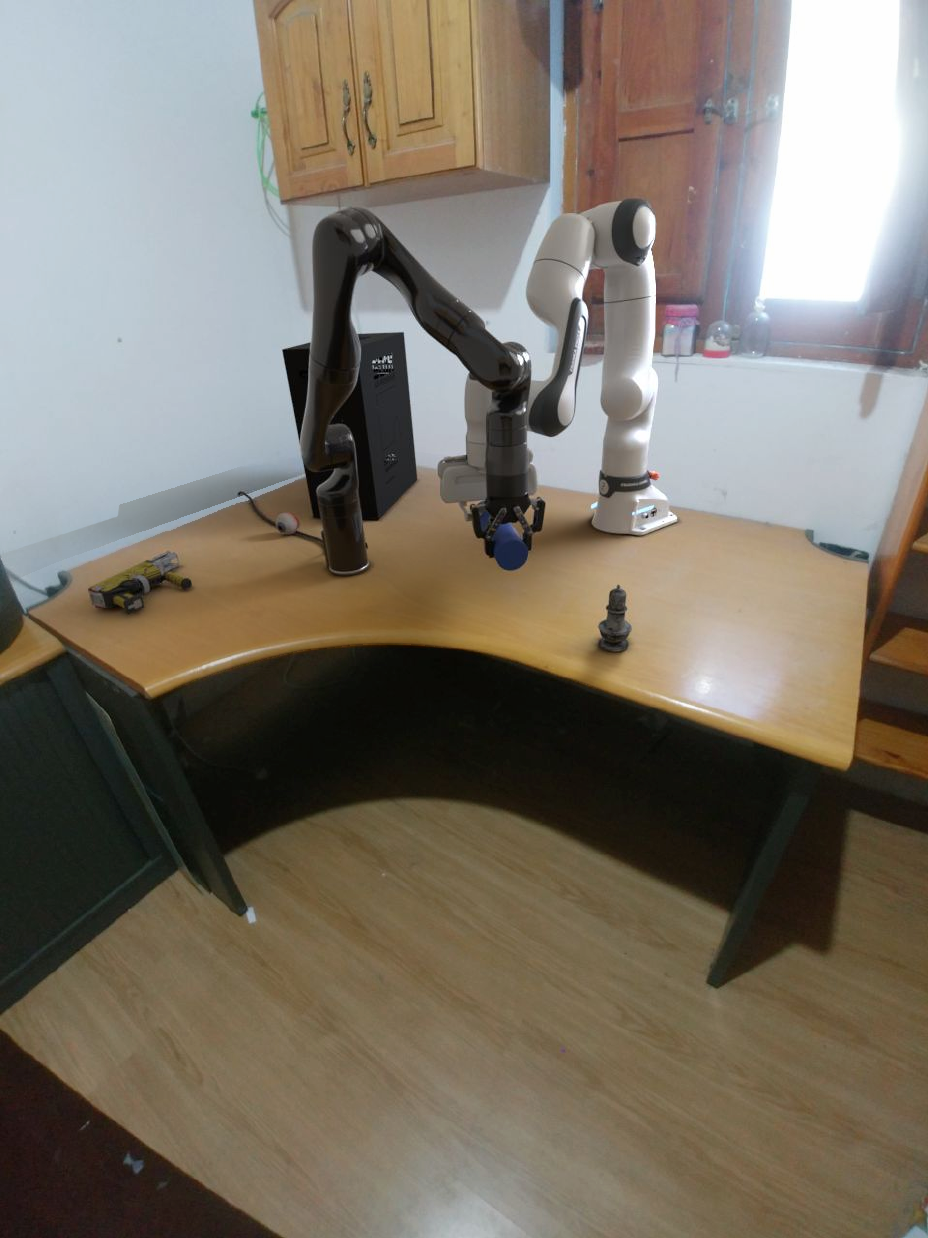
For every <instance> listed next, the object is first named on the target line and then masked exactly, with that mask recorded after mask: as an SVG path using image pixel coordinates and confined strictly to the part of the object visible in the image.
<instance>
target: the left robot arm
mask: <svg viewBox="0 0 928 1238" xmlns="http://www.w3.org/2000/svg"><path fill="white" fill-rule="evenodd" d="M311 240H312V241H311V265H312V269H311V270H312V315H311V316H312V318H311V319H312V321H311V336H310V337H311V338H310V342H311V344H310V357H309V379H308V393H307V402H306V409H305V414H304V419H303V425H302V430H301V437H300V443H299V448H300V450H299V451H300V457H301V460H302V463H303V462H304V465H305V466H306V467H307V469H309V470H310V471H312V472H324V471H329V470H333V469H334V472H333V474H332V475H331V476H330V477H329V478H328V479H327V480H326V481H325V482H323V483H322V484H321V485H319V486H318V488H317V490H316V494H317V500H318V505H319V510H320V516H321V518H320V521H321V526H322V530H321V531H320V536H321V538H320V537H317V536H315V535H311V534H308V533H304V532H302V531H299V530H297V531H296V532H294V533H293V534H297V535H300V536H302V537H306V538H309V539H311V540H316V541H317V542H319V543H321V544H322V548H323V552H324V557H325V558H324V559H325V563H326V568H327V569H329V572H330V573H331V574H333V575H335V576H341V577H343V576H345V577H346V576H353V575H357V574H361V573H363V572H365V571H366V570H368V569H369V567H370V560H369V558H368V549H369V547H368V543H367V541H366V535H365V529H364V521H363V519H362V514H361V507H360V500H359V493H358V487H359V480H358V470H357V458H356V448H355V443H354V439H353V435H352V433H351V431H350V429H349V428H348V427H347V426H346V425H345V424H343V423H335V424H330V422H331V420H332V418H333V417H334V415H335V414H336V413H337V411H338V410H339V409H340V408H341V406H342V405H343V404H344V403H345V401H346V400H347V399H348V397H349V396H350V394H351V393H352V391H353V390H354V388H355V386H356V383H357V379H358V374H359V367H360V360H361V345H360V341H359V338H358V335H357V334H358V332H357V330H356V327H355V325H354V323H353V319H352V308H353V307H352V306H353V300H354V293H355V288H356V284H357V281H358V279H359V278H360V277H363V276H364V275H366V274H368V273H369V272H373V273H375V274H376V275H378V276H380V277H382V278H383V279H384V280H386V281H387V282H389V283H390V284H391V285H392V286H393V287H394V288H395V289H396V290H397V291H398V292H399V294H400V295H401V297H403V299H404V301H405V302H406V304H407V306H408V308H409V310H410V312H411V313H412V316H413V317H414V319H415V320H416V321H417V324H419V326H420V328H422V329H423V330H424V331H425V333H427V334H428V335H429V336H430V337H431V338H432V339H434V340H435V341H436V342H438V344H440V345H441V346H442V347H443V348H445V349H446V350H447V351H449V352H450V353H451V354H452V355H454V356H455V357H456V358H457V359H458V360H459V361H460V363H461V364H462V365H463V367H464V368H465V369H466V370H467V371H468V373H469V372H470V373H471V374H472V375H473V376H474V378H475V379H476V380H477V381H478V382H480V383H481V384H482V385H483V386H484V387H486V388H488V389H489V390H491V391H492V400H491V405H490V407H489V409H488V411H487V414H486V454H485V468H486V492H487V497H486V500H485V502H484V504H479V505H477V504H475V503H471V504H470V505H469V511H470V513H471V519H472V521H471V524H472V530H473V534H474V535H475V537H476V539H479V540H480V539H483V551H484V553H485V555H486V556H487V557H488V558H489V559H494V556H493V540H492V537H493V535H494V533H495V531H497V529H498V527H499V525H500V524H506V523H511V524H517V523H519V525H520V527H521V528H522V530H523V532H522V533H521V535H522V537H521V539H522V541H523V542H524V544H525V545H526V547H527V549H528V555H529V553H530V552H532V549H533V535H534V534H536V533H540V532H543V531H542V530H543V526H544V521H545V520H544V519H545V513H546V504H547V503H546V501H545V500H544V499H543V498H542V497H541V496H537V497H536V498H530V496H529V495H528V448H529V447H528V431H527V406H528V400H529V393H530V385H531V380H532V370H533V369H532V360H531V356H530V354H529V352H528V349H526V347H525V346H523V345H522V344H521V343H519V342H516V341H506V342H503V343H502V341H499V340H498V339H497V337H496V336H494V335H493V334H492V333H491V332H490V331H488V329H487V328H486V324H485V321H484V320H483V319H482V318H481V316H480V315H478V313H476V312H475V311H474V310H473V309H471V308H470V307H469V306H468V305H466V304H465V303H464V302H463V301H461V300H460V299H459V298H458V297H456V296H455V295H454V294H453V293H452V292H450V291H449V289H447V288H446V287H444V286H443V284H441V283H440V282H439V281H438V280H437V279H435V277H434V276H433V275H432V274H431V273H430V272H429V271H428V270H427V269H426V268H425V267H424V266H423V265H422V264H421V263H420V262H419V261H418V259H416V257H415V256H414V255H413V254H412V253H411V252H410V251H409V249H407V248H406V246H405V245H404V244H403V243H402V242H401V241H400V240H399V239H398V237H397V236H396V235H395V234H394V233H393V232H392V231H391V229H390V228H389V227H388V226H387V225H386V224H385V223H384V222H383V221H382V220H381V219H380V218H379V217H378V215H376V214H375V213H374V212H373V211H371V210H370V209H369V208H367V207H364V206H362V205H352V206H351V205H350V206H347V207H345V208H342V209H340V210H338V211H334V212H332V213H329V214H327V215H325V216H324V217H322V218H321V219H320V220H318V222H317V224H316V225H315V227H314V230H313V233H312V239H311ZM329 424H330V425H329ZM304 465H303V466H304ZM240 495H243V496H245V497H246V498H247V499H248V500H249V502H250V505H251V506H252V508H253V510H254V511H255V512H256V514H257V515H258V516H259V517H261V518H262V519H263V520H265V521H266V522H268V523H270V524H271V525H274V526H276V521H273V520H271V519H270V518H268V517H266V516H265V515H264V514H262V512H260V511H259V510H258V508H257V507H256V505H255V504H254V501H253V498H252V497H251V496H250V495H249V494H247V493H246V492H245V491H238V492H237V496H240ZM530 507H531V508H532V510H533V518H532V519H533V520H532V523H531V524H529V522H528V520H527V518H526V516H525V514H526V512H527V511H528V510H529V508H530ZM484 510H487V512H488V513H489V514H490V517H489V519H488V522H487V526H486V528H485V530H482V529H481V523H480V517H481V516H482V515H483V511H484Z"/></svg>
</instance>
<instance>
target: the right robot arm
mask: <svg viewBox="0 0 928 1238" xmlns="http://www.w3.org/2000/svg"><path fill="white" fill-rule="evenodd" d="M656 233H657V219H656V214H655V211H654V210H653V208H652V206H651V204H650V203H649V202H648V201H647V200H646V199H643V198H638V197H631V198H629V197H628V198H624V199H623V200H618V201H617V200H616V201H610V202H606V203H602V204H598V205H597V206H595V207H592V208H590V209H587V210H585V211H582V212H577V213H574V212H567V213H562V214H560V215H558V216H557V217H555V219H554V220H553V221H552V222H551V224H550V225H549V228H548V229H547V231H546V232H545V235H544V237H543V239H542V241H541V243H540V245H539V247H538V250H537V253H536V254H535V258H534V260H533V263H532V267H531V269H530V272H529V275H528V278H527V282H526V287H525V299H526V302H527V305H528V308H529V309H530V311H531V312H532V314H533V315H534V316H535V317H536V318H537V319H539V320H540V321H541V322H542V323H544V324H545V325H547V326H548V327H550V328H552V329H553V330H555V331H556V332H557V342H556V347H555V353H554V357H553V364H552V368H551V373H550V375H549V377H548V378H547V379H545V380H535V379H534V380H533V379H531V385H530V393H529V400H528V406H527V432H530V433H531V432H532V433H534V434H538V435H541V436H545V437H548V438H554V437H558V435H560V434H561V433H564V431H566V429H568V428H569V426H571V424H572V422H573V421H574V417H575V415H576V414H575V413H576V407H577V406H576V405H577V388H578V382H579V377H580V372H581V367H582V361H583V356H584V351H585V346H586V345H585V344H586V340H587V339H586V338H587V333H588V325H589V309H588V306H587V304H586V302H585V301H584V300H583V292H584V288H585V284H586V281H587V279H588V275H589V272H590V270H601V269H602V270H603V273H604V283H603V315H604V316H603V318H604V319H603V320H604V349H603V358H602V369H601V370H602V371H601V389H600V397H599V398H600V399H599V400H600V407H601V409H602V411H603V413H604V414H605V415H606V416H607V420H606V421H607V422H606V424H605V425H606V426H605V429H604V430H605V431H604V435H603V440H602V453H601V468H600V470H599V474H598V492H599V493H598V498H597V501H596V502H594V503H592V504H591V505H590V509H594V508H595V511H594V514H593V517H592V520H591V525H592V526H593V527H594V528H595V529H597V530H599V531H601V532H605V533H611V534H623V535H625V534H626V535H632V536H633V535H634V536H645V535H646V534H650V533H652V532H654V531H657V530H660V529H662V528H665V527H668V526H670V525H672V524H675V523H677V522H678V516H677V515H676V514H675V513H674V512H672V511H670V503H669V502H670V501H669V498H668V497H667V496H666V495H665V494H664V492H661V491H660V490H659V489H658V488H656V487H655V486H654V485H652V483H651V480H653V481H658V479H659V478H660V473H659V472H657V471H654V470H651V471H649V470H648V469H647V466H648V458H649V457H648V456H649V447H650V440H651V433H652V429H653V422H654V417H655V409H656V403H657V398H658V397H657V396H658V390H659V378H658V375H657V372H656V371H655V370H654V368H653V367H652V366H653V365H652V364H653V356H654V355H653V354H654V345H655V337H656V276H655V267H654V266H655V265H654V259H653V255H652V251H651V249H652V247H653V244H654V241H655V238H656ZM465 380H466V381H465V385H464V400H463V402H464V404H463V405H464V420H465V423H466V428H467V429H466V434H465V454H463V455H455V456H451V455H450V456H448V455H447V456H445V457H444V458H442V459H441V460H440V461H438V463H437V466H436V467H437V475H438V478H439V479H440V480H439V483H440V484H439V494H440V499H441V500H442V501H443V502H444V504H455V503H458V505H459V508H460V510H461V511H462V512H463V514H464V515H463V516H464V517H463V518H464V521H465V522H472V519H471V513H470V510H467V508H466V507H467V506H468V503H469V502H477V501H478V502H480V501H484V500H486V497H487V492H486V468H485V454H486V414H487V411H488V409H489V407H490V405H491V400H492V391H491V390H489V389H488V388H486V387H484V386H483V385H482V384H481V383H480V382H478V381H477V380H476V379H475V378H474V376H473V375H472V374H471V373H470V372H469V371H468V374H467V376H466V379H465ZM533 460H534V453H533V451H532V450H531V449H530V448H529V447H528V495H529V497H530V496H535V494H536V493H537V492H538V489H539V482H538V471H537V468H536V465H535V464H534V463H533ZM467 502H468V503H467Z"/></svg>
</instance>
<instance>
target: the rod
mask: <svg viewBox="0 0 928 1238" xmlns="http://www.w3.org/2000/svg"><path fill="white" fill-rule="evenodd" d="M484 502H485V500H480V501H479V502H478V503H477V504H476V505H479V504H484ZM489 517H490V514H489V513H488V512H487V510H484V511H483V515H482V516H481V517H480V523H481V529H482V530H485V528H486V526H487V522H488V519H489ZM492 540H493V556H494V557H493V559H494V560H495V561H496V564H497V565H498V567H499V568H501V569H502V570H505V571H507V572H508V571H509V572H512V571H516V570H519V569H521V568H522V567H523V566H524V565H525V564H526V562H527V561H528V558H529V554H528V549H527V547H526V545H525V544H524V542H523V541H522V537H521V536H520V535H519V533H518V532H517V530H516V529H515V527H514V526H513V523H506V524H500V525H499V527H498V529H497V531H495V533H494V535H493V537H492Z"/></svg>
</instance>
